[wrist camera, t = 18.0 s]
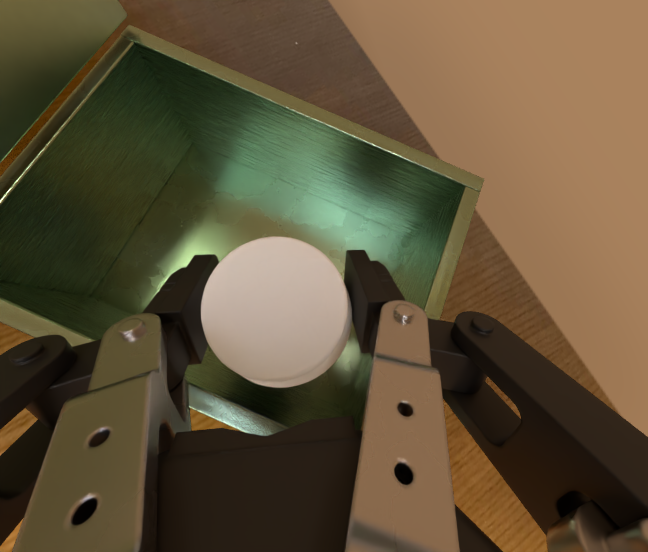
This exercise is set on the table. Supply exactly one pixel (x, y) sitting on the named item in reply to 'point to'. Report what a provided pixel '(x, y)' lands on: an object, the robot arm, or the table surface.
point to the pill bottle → (276, 312)
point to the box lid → (45, 55)
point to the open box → (214, 211)
